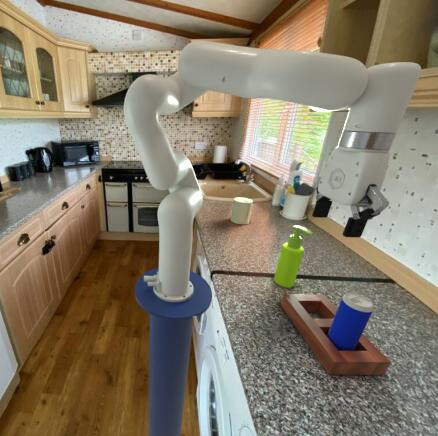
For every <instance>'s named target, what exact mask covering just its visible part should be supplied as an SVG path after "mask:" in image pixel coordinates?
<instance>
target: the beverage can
mask: <svg viewBox="0 0 438 436" xmlns="http://www.w3.org/2000/svg"><path fill="white" fill-rule="evenodd" d="M337 308H338V309H337V312H336V314H335V317H334V319H333V322H332V324H331V327H330V329H329V332H328V334H327V337H328V338H329V340H330V341H331V342H332V343H333V345H334V346H335V347H336V348H337V349H338V351H354V350H355V348H356V346H357V343H358V341H359V339H360V337H361V335H362V333H363V334H364V331H365V329H366V327H367V324H368V322H369V320H370V318H371V316H372V314H373V312H374V310H375V309H374V302H373V301H372V300H371V299H370V298H369V297H367V296H365V295H363V294H360V293H358V292H352V291H348V292H346V293H345V294H344V295H342V297H341V299H340V302H339V304H338V307H337Z"/></svg>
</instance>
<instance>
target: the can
mask: <svg viewBox="0 0 438 436" xmlns="http://www.w3.org/2000/svg"><path fill="white" fill-rule="evenodd" d="M253 202H254V200H253V199H252V198H249V197H245V196H244V197H243V196H238V197H237V196H236V197H234V198H233V203H232V209H231V214H230V221H231V222H232V223H234V224H237V225H248V224H249V223H250V218H251V212H252V207H253Z"/></svg>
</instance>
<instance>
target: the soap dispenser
mask: <svg viewBox="0 0 438 436" xmlns="http://www.w3.org/2000/svg"><path fill="white" fill-rule="evenodd" d="M291 228H292V229H294V231H293V234H290V235H289V236H288V241H287V242H284V243H282V244H281V249H280V253H279V258H278V261H277V264H276V269H275V271H274V272H275V273H274V277H273V281H274V283H275V284H276V285H278V286H279V287H283V288H287V289H288V288H289V289H290V288H293V287H294V286H295V282H296V279H297V276H298V272H299V269H300V265H301V262H302V260H303V255H304V252H305V248H304V247H303V246H302V243H303V237H302V236H301V234H302V233H304V234H305V235H306V236H310V235H313V234H314V232H313V231H312V230H310V229H308V228H307V227H304V226H301V225H297V224H295V225H292V226H291Z"/></svg>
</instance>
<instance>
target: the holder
mask: <svg viewBox="0 0 438 436" xmlns="http://www.w3.org/2000/svg"><path fill="white" fill-rule="evenodd" d="M280 307H281V308H282V310H283V311H284V313H285V314H286V315H287V317H288V318H289V320H290V321H291V322H292V324H293V326H294V327H295V328H296V330H297V332H298V333H299V334H300V336H301V337H302V338H303V340H304V341H305V342H306V344H307V345H308V347H309V348H310V350H311V352H313V354H314V355H315V357H316V358H317V359H318V361H319V362H320V364H321V365H322V366H323V368H324V370H325V371H326V372H327V374H328V375H329V376H384V375H385V374H386V371H387V370H388V368H389V367H390V365H391V363H392V361H390V359H389V358H388V357H386V355H385V354H384V353H382V351H381V350H380V349H379V348H378V347H376V346H375V344H374V343H373V342H372V341H371V340H370V339H369V338H368V337H367V336H366V335H365V334H364V332H363V333H362V335H361V337H360V339H359V341H358V343H357V346H356V348H355V350H354V351H338V349H337V348H336V347H335V346H334V345H333V343H332V342H331V341H330V340H329V338H328V337H327V334H328V332H329V329H330V327H331V324H332V322H333V319H334V317H335V314H336V312H337V309H338V307H337V306H336V305H335V304H334V303H333V302H332V301H331V300H330V299H329V298H328V297H327V295H325V294H312V293H311V294H310V293H308V294H306V293H305V294H303V293H302V294H301V293H299V294H298V293H297V294H296V293H295V294H294V293H293V294H292V293H286V294H285V293H283V295H282V298H281V301H280ZM310 313H317V314H318V315H319V317H321V318H313V317H312V316H311V315H310Z"/></svg>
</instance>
